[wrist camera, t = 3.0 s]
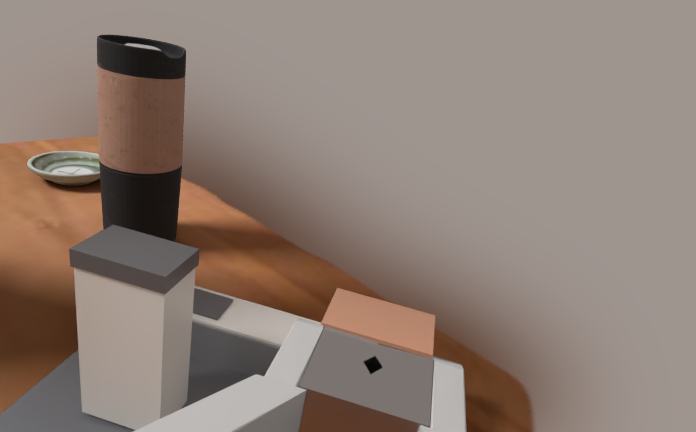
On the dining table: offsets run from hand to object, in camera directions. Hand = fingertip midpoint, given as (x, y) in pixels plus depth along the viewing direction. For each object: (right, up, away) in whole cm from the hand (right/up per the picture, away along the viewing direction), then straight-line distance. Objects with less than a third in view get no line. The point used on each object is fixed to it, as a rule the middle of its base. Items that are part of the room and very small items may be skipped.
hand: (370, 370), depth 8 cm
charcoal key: (-13, -9, +20) cm, 25 cm away
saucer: (-36, +7, +52) cm, 64 cm away
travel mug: (-23, 0, +42) cm, 47 cm away
